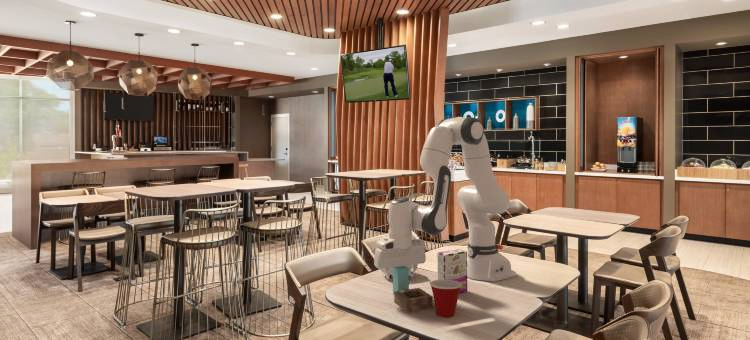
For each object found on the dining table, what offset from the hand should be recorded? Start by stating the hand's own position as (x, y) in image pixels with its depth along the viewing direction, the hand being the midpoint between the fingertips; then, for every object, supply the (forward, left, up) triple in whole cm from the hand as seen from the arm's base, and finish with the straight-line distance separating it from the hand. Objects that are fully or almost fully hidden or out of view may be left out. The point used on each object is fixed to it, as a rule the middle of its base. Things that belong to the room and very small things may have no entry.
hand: (400, 277), depth 175 cm
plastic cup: (-6, +22, -8) cm, 24 cm away
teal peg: (0, 0, -8) cm, 8 cm away
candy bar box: (-21, +3, -8) cm, 23 cm away
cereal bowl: (-11, -25, -8) cm, 28 cm away
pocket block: (0, +10, -8) cm, 13 cm away
